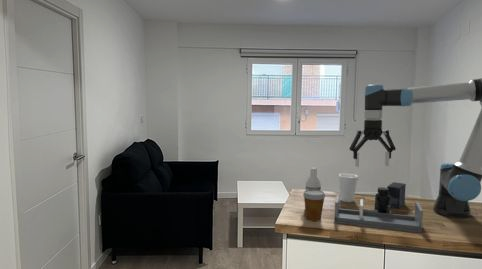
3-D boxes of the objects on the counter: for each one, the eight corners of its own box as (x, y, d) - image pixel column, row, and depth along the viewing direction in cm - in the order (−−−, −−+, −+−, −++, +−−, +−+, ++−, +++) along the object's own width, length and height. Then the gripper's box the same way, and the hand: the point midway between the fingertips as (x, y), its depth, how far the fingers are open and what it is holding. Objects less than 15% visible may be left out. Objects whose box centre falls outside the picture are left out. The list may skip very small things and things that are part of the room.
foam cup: (344, 196, 198) (345, 172, 197) (360, 200, 191) (361, 175, 190) (333, 199, 192) (334, 175, 191) (349, 204, 185) (350, 178, 184)
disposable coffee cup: (328, 219, 163) (329, 192, 162) (315, 224, 157) (316, 196, 156) (311, 213, 170) (311, 188, 169) (297, 218, 164) (298, 192, 162)
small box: (391, 201, 190) (392, 181, 189) (405, 204, 186) (406, 183, 185) (385, 206, 182) (386, 185, 180) (399, 209, 178) (400, 188, 177)
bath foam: (318, 212, 172) (319, 170, 170) (303, 210, 175) (304, 168, 172) (321, 208, 178) (322, 167, 176) (306, 206, 181) (308, 165, 179)
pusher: (376, 215, 165) (377, 200, 164) (377, 223, 156) (378, 207, 155) (359, 213, 167) (360, 199, 166) (359, 221, 158) (360, 205, 157)
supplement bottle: (391, 217, 167) (392, 190, 166) (375, 215, 168) (376, 189, 167) (388, 212, 174) (389, 187, 172) (373, 211, 175) (374, 186, 174)
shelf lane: (416, 221, 162) (418, 201, 161) (421, 232, 149) (423, 211, 148) (336, 212, 172) (337, 194, 171) (334, 222, 159) (335, 202, 158)
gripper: (397, 118, 171) (395, 163, 174) (343, 119, 171) (342, 164, 173) (404, 119, 164) (402, 167, 166) (347, 120, 164) (346, 168, 166)
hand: (371, 166), depth 170 cm, fingers open, 13 cm apart
